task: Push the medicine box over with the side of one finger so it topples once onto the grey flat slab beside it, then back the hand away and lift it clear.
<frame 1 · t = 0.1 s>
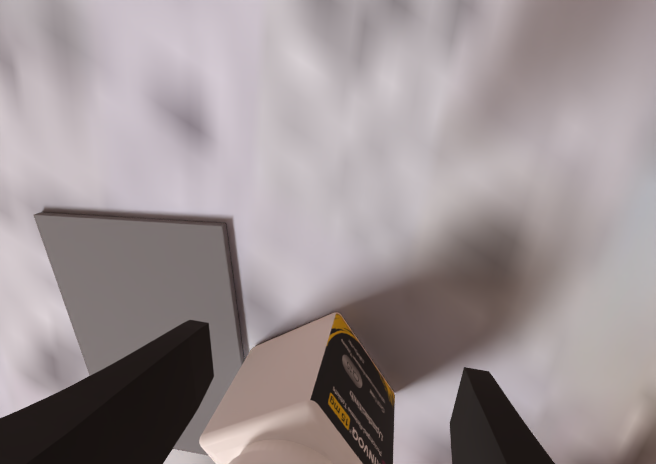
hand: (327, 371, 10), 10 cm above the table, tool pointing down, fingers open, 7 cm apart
medicine box: (322, 366, 23), on the table
grey flat slab: (159, 347, 25), on the table
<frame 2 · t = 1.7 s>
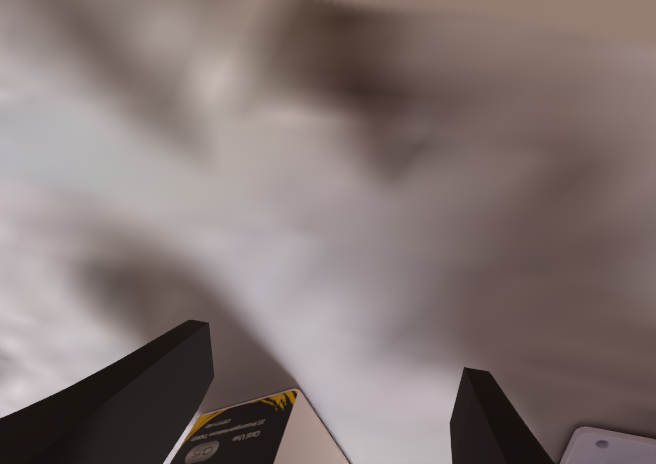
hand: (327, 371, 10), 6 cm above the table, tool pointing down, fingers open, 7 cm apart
medicine box: (279, 440, 21), on the table
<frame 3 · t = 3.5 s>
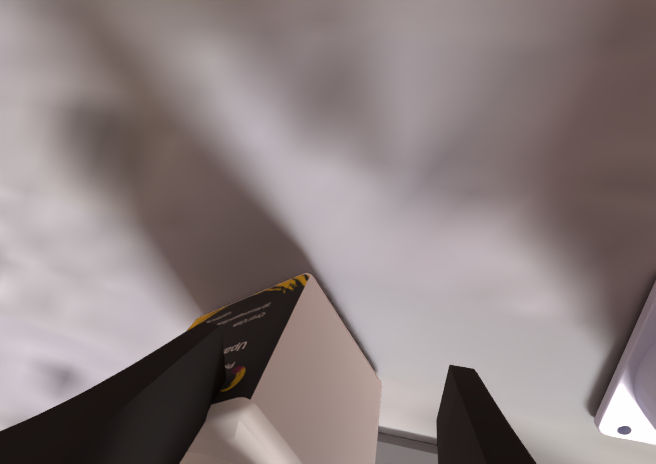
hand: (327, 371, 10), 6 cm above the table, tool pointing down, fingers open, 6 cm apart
medicine box: (290, 345, 18), on the table, touching gripper, grey flat slab
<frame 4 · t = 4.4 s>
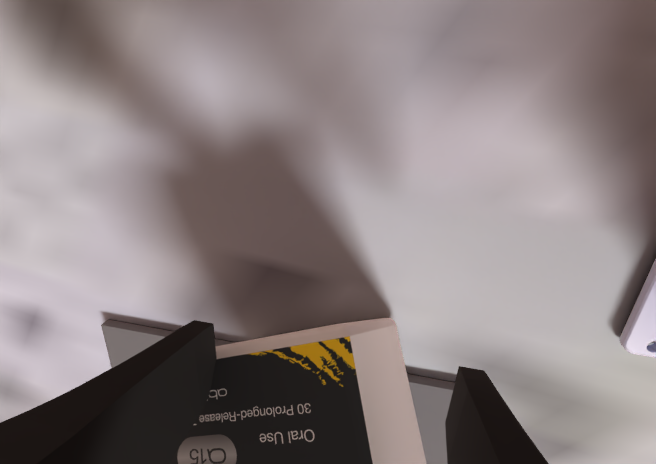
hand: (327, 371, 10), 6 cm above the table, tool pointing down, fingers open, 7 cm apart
medicine box: (288, 329, 14), point 3 cm above the table, touching gripper
grey flat slab: (281, 439, 20), on the table
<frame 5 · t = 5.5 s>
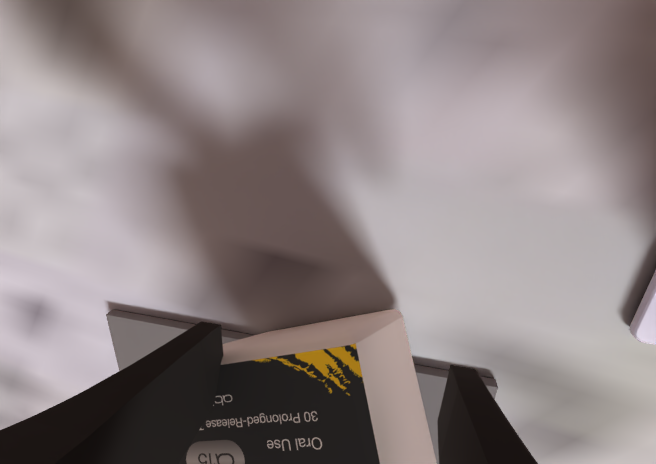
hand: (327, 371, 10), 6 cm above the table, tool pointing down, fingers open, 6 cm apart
medicine box: (293, 325, 13), point 3 cm above the table, touching gripper, grey flat slab
grey flat slab: (285, 431, 20), on the table
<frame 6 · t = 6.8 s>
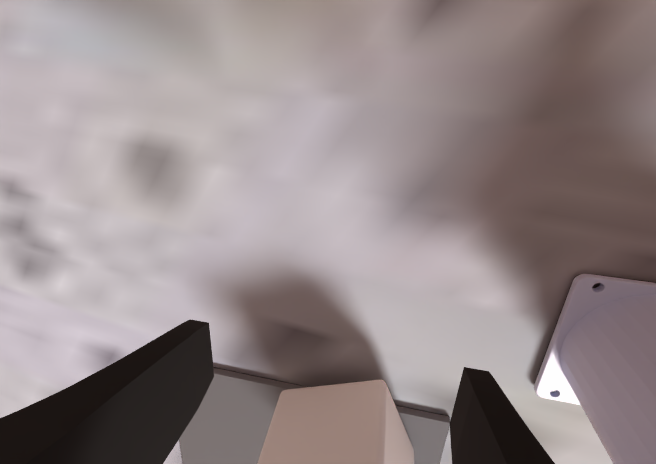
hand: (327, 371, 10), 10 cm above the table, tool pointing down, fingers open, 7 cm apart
medicine box: (317, 435, 19), point 5 cm above the table, touching grey flat slab
grey flat slab: (298, 449, 27), on the table
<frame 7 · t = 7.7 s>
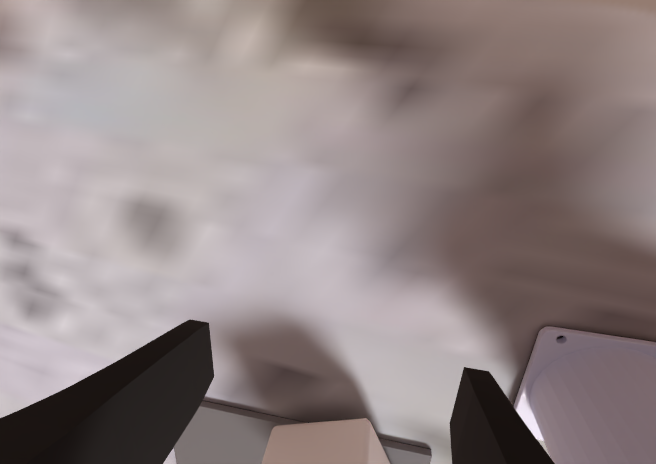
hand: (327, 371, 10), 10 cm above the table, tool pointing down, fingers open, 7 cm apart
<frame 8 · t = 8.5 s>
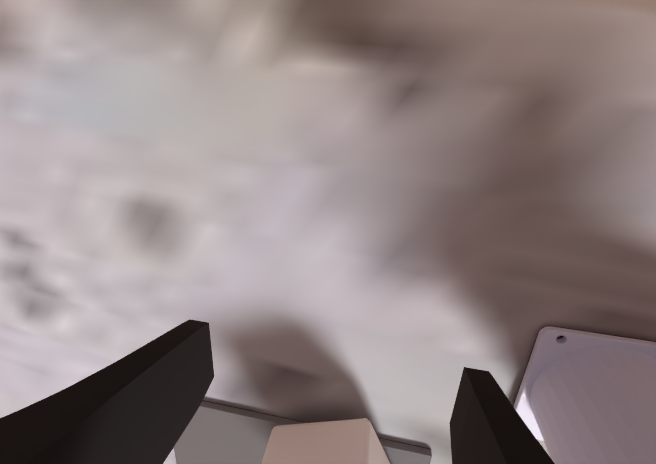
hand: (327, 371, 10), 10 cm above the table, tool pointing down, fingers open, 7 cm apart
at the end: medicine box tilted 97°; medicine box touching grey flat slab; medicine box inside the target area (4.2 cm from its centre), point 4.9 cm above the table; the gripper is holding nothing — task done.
